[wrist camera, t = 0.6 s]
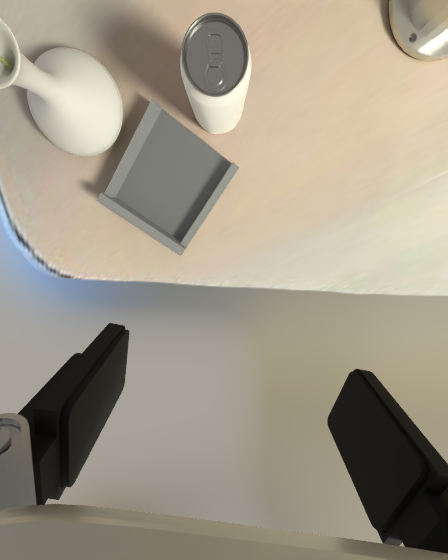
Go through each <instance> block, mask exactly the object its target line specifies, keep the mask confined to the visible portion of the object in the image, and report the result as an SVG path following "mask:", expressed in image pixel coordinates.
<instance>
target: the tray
mask: <svg viewBox="0 0 448 560" xmlns="http://www.w3.org/2000/svg"><path fill="white" fill-rule="evenodd" d="M238 168H239V167H238V166H237V165H236V164H234V163H231V162H229V161H228V160H227V159H226V158H224V157H223V156H222V155H220V154H219V153H218V152H217V151H215V150H214V149H213V148H211V147H210V146H209V145H208V144H206V143H205V142H204V141H203V140H201V139H200V138H199V137H197V136H196V135H195V134H194V133H192V132H191V131H190V130H188V129H187V128H186V127H185V126H183V125H182V124H181V123H180V122H178V121H177V120H176V119H174V118H173V117H172V116H171V115H169V114H168V113H167V112H165V111H164V110H163V109H162V108H161V107H160V105H159V104H158V103H156V102H155V101H154V100H153V99H152V100H151V102H150V104H149V106H148V108H147V110H146V112H145V114H144V116H143V118H142V120H141V122H140V124H139V126H138V127H137V129H136V131H135V133H134V135H133V137H132V139H131V141H130V143H129V145H128V147H127V149H126V151H125V153H124V155H123V157H122V159H121V161H120V163H119V165H118V167H117V169H116V171H115V173H114V175H113V177H112V179H111V181H110V183H109V185H108V187H107V189H106V191H105V193H100V195H99V197H98V199H97V201H98V202H99V203H101V204H103V205H104V206H106V207H107V208H109V209H110V210H112V211H113V212H115V213H116V214H118V215H119V216H121V217H122V218H124V219H125V220H127V221H128V222H130V223H131V224H133V225H134V226H136V227H137V228H139V229H140V230H142V231H144V232H145V233H147V234H148V235H150V236H151V237H153V238H154V239H156V240H157V241H159V242H160V243H162V244H163V245H165V246H166V247H168V248H169V249H171V250H172V251H174V252H175V253H177V254H178V255H180V256H181V255H182V253H183V252H184V250H185V249H186V247H187V246H188V244H189V243H190V241H191V240H192V238H193V237H194V235H195V234H196V232H197V231H198V229H199V228H200V226H201V225H202V223H203V221H204V220H205V218H206V217H207V215H208V214H209V212H210V211H211V209H212V208H213V206H214V205H215V203H216V202H217V200H218V199H219V197H220V196H221V194H222V193H223V191H224V190H225V188H226V187H227V185H228V184H229V182H230V180H231V179H232V177H233V176H234V174H235V173H236V171H237V170H238Z"/></svg>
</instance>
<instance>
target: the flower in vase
mask: <svg viewBox="0 0 448 560" xmlns="http://www.w3.org/2000/svg"><path fill="white" fill-rule="evenodd" d="M10 85H16V86H19V87H22V88H25V89H27V99H28V104H29V108H30V111H31V114H32V116H33V118H34V120H35V122H36V124H37V126H38V127H39V128H40V130H41V131H42V132H43V134H44V135H45V136H46V137H47V138H48V139H49V140H50V141H51V142H52V143H53V144H54V145H55V146H57V147H58V148H60V149H61V150H63V151H65V152H67V153H69V154H72V155H75V156H81V157H90V156H95V155H98V154H101V153H103V152H104V151H106V150H107V149H108V148H110V147H111V146H112V144H113V143H114V142H115V141H116V139H117V137H118V135H119V133H120V130H121V126H122V121H123V105H122V100H121V95H120V92H119V89H118V87H117V85H116V82H115V81H114V79H113V77H112V75H111V74H110V73H109V71H108V70H107V69H106V68H105V67H104V65H103V64H102V63H101V62H99V61H98V60H97V59H96V58H94V57H93V56H91V55H90V54H88V53H86V52H84V51H81V50H78V49H74V48H68V47H59V48H54V49H51V50H48V51H46V52H45V53H43V54H42V55H41V56H39V57H38V59H37V60H36V61H35V62H34V64H33V63H31V62H30V61H29V60H28V59H27V58H26V57H25V56H24V55H23V54H22V53H21V52H20V50H19V47H18V44H17V41H16V39H15V37H14V35H13V33H12V32H11V30H10V29H9V27H8V26H7V25H6V23H5V22H4V21H3V20H2V19H1V18H0V89H3V88H6V87H8V86H10Z"/></svg>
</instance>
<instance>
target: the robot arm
mask: <svg viewBox="0 0 448 560" xmlns="http://www.w3.org/2000/svg"><path fill="white" fill-rule="evenodd" d="M389 19H390V25H391V29H392V32H393V35H394V37H395V39H396V41H397V43H398V44H399V46H400V47H401V48H402V49H403V50H404V51H405V52H406V53H407V54H409V55H410V56H412V57H414V58H417V59H419V60H425V61H434V60H441V59H444V58H446V57H448V0H389ZM128 341H129V330H125V326H123V325H118V324H113V323H109V324H108V325H107V326H106V327H105V328H104V330H103V331H102V332H101V333H100V334H99V335H98V336H97V337H96V338H95V340H94V341H93V342H92V343H91V344H90V345H89V346H88V347H87V348H86V350H85V351H84V352H83V353H82V354H81V353H76V354H74V355H73V356H72V357H71V358H70V359H69V360H68V361H67V362H66V363H65V364H64V365H63V366H62V367H61V369H60V370H59V371H58V372H57V373H56V374H55V375H54V376H53V377H52V378H51V379H50V380H49V381H48V382H47V383H46V384H45V386H44V387H43V388H42V389H41V390H40V391H39V392H38V393H37V394H36V395H35V396H34V397H33V398H32V399H31V400H30V401H29V403H28V404H27V405H26V406H25V407H24V408H23V409H22V410H21V411H20V412H19V413H18V414H14V413H5V414H0V560H448V464H447V463H446V462H445V460H444V459H443V458H442V457H441V456H440V454H439V453H438V452H437V451H436V449H435V448H434V447H433V446H432V445H431V443H430V442H429V441H428V440H427V438H426V437H425V436H424V435H423V434H422V432H421V431H420V430H419V429H418V428H417V426H416V425H415V424H414V423H413V421H412V420H411V419H410V418H409V417H408V415H407V414H406V413H405V412H404V410H403V409H402V408H401V407H400V406H399V404H398V403H397V402H396V401H395V399H394V398H393V397H392V396H391V395H390V393H389V392H388V391H387V390H386V389H385V387H384V386H383V385H382V384H381V382H380V381H379V380H378V379H377V378H376V376H375V375H374V374H373V373H372V372H370V371H366V370H360V369H355V370H354V371H353V372H350V374H349V375H348V378H347V379H346V381H345V383H344V386H343V388H342V390H341V392H340V394H339V396H338V398H337V400H336V402H335V404H334V406H333V408H332V410H331V412H330V414H329V416H328V427H329V429H330V432H331V433H332V436H333V438H334V440H335V443H336V445H337V447H338V450H339V452H340V454H341V456H342V459H343V461H344V463H345V465H346V468H347V470H348V472H349V475H350V477H351V479H352V481H353V483H354V486H355V488H356V490H357V493H358V495H359V497H360V500H361V502H362V504H363V506H364V509H365V511H366V513H367V515H368V518H369V520H370V522H371V524H372V526H373V527H374V528H375V529H376V530H377V531H378V533H379V536H380V538H381V540H382V542H383V544H381V543H373V542H366V541H359V540H352V539H345V538H338V537H331V536H323V535H316V534H308V533H302V532H295V531H287V530H280V529H272V528H265V527H258V526H250V525H243V524H235V523H227V522H220V521H212V520H204V519H197V518H189V517H181V516H172V515H165V514H158V513H150V512H141V511H131V510H122V509H113V508H103V507H95V506H83V505H62V504H48V505H44V504H45V503H46V501H47V499H48V498H49V499H56V500H59V499H60V497H61V495H62V493H63V491H64V489H65V488H66V487H71V486H72V485H73V484H74V482H75V481H76V478H77V477H78V475H79V473H80V471H81V469H82V467H83V465H84V463H85V462H86V460H87V458H88V456H89V454H90V452H91V450H92V448H93V446H94V444H95V442H96V440H97V439H98V437H99V435H100V433H101V431H102V429H103V427H104V425H105V423H106V421H107V419H108V417H109V416H110V414H111V412H112V409H113V408H114V406H115V404H116V402H117V400H118V398H119V396H120V395H121V392H122V390H123V387H124V383H125V374H126V363H127V352H128ZM402 542H403V544H404V546H405V547H401V546H399V545H400V544H401V543H402Z"/></svg>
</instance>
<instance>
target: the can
mask: <svg viewBox="0 0 448 560" xmlns="http://www.w3.org/2000/svg"><path fill="white" fill-rule="evenodd" d="M180 70H181V76H182V80H183V84H184V87H185V90H186V93H187V95H188V98H189V101H190V104H191V107H192V110H193V112H194V115H195V117H196V119H197V121H198V123H199V124H200V126H201V127H202V128H203V129H205V130H206V131H208V132H210V133H212V134H223V133H226V132H228V131H230V130H232V129H233V128H234V127H235V126H236V125H237V123H238V121H239V120H240V117H241V115H242V111H243V107H244V103H245V98H246V94H247V90H248V85H249V80H250V74H251V55H250V51H249V47H248V44H247V40H246V37H245V35H244V33H243V31H242V29H241V28H240V26H239V25H238V24H237V23H236V22H235V21H234V20H233V19H232V18H230V17H229V16H227V15H224V14H221V13H208V14H205V15H203V16H201V17H199V18H198V19H196V20H195V21H194V22H193V23H192V24H191V26H190V27H189V29H188V30H187V32H186V34H185V37H184V40H183V44H182V51H181V56H180Z"/></svg>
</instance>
